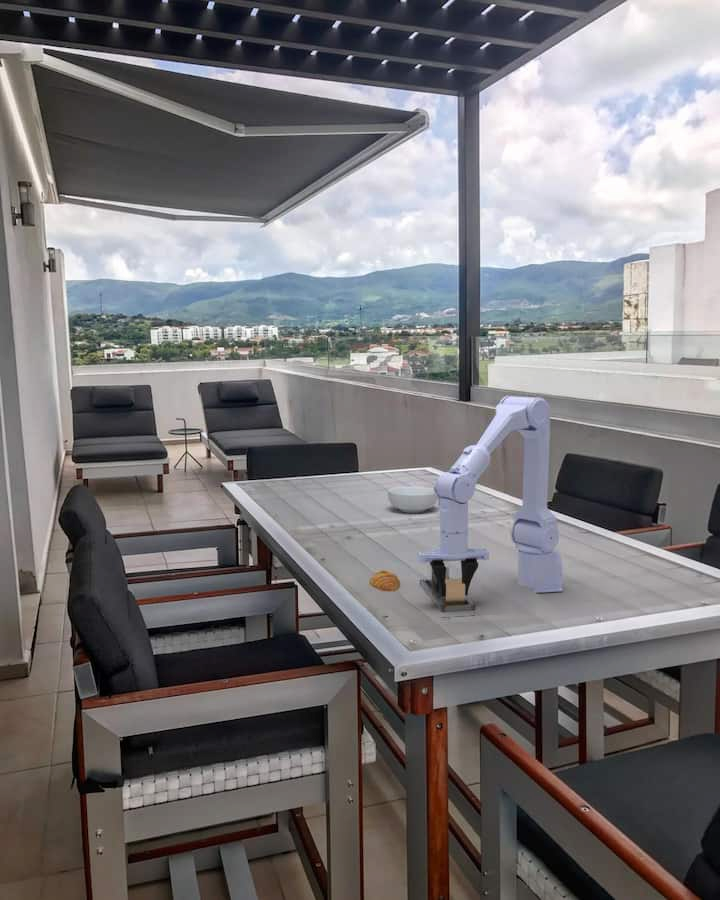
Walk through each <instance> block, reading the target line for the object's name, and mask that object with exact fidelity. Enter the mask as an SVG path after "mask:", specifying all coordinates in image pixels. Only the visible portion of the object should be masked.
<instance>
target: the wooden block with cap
mask: <svg viewBox="0 0 720 900" xmlns="http://www.w3.org/2000/svg"><path fill="white" fill-rule="evenodd" d="M445 591H446V593H445V597H442V603H443V604H444V606H451V605H465V583H464V582H463V580H462V577H458V578H456V577H455V578H450V579H445Z"/></svg>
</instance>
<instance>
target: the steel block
mask: <svg viewBox="0 0 720 900" xmlns="http://www.w3.org/2000/svg"><path fill="white" fill-rule="evenodd" d="M426 563H427V571H426V573H427V585H428V586H429V587H430V588H431V590H436V592H439V586H438V582H437V579H436V576H435V574H434V571H433V569H432V567H431V565H430V562H426ZM443 563H444V566H445V567H446V576H445V579H449V578H450V567H449V565H448V564H447V563H446V562H443Z"/></svg>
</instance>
